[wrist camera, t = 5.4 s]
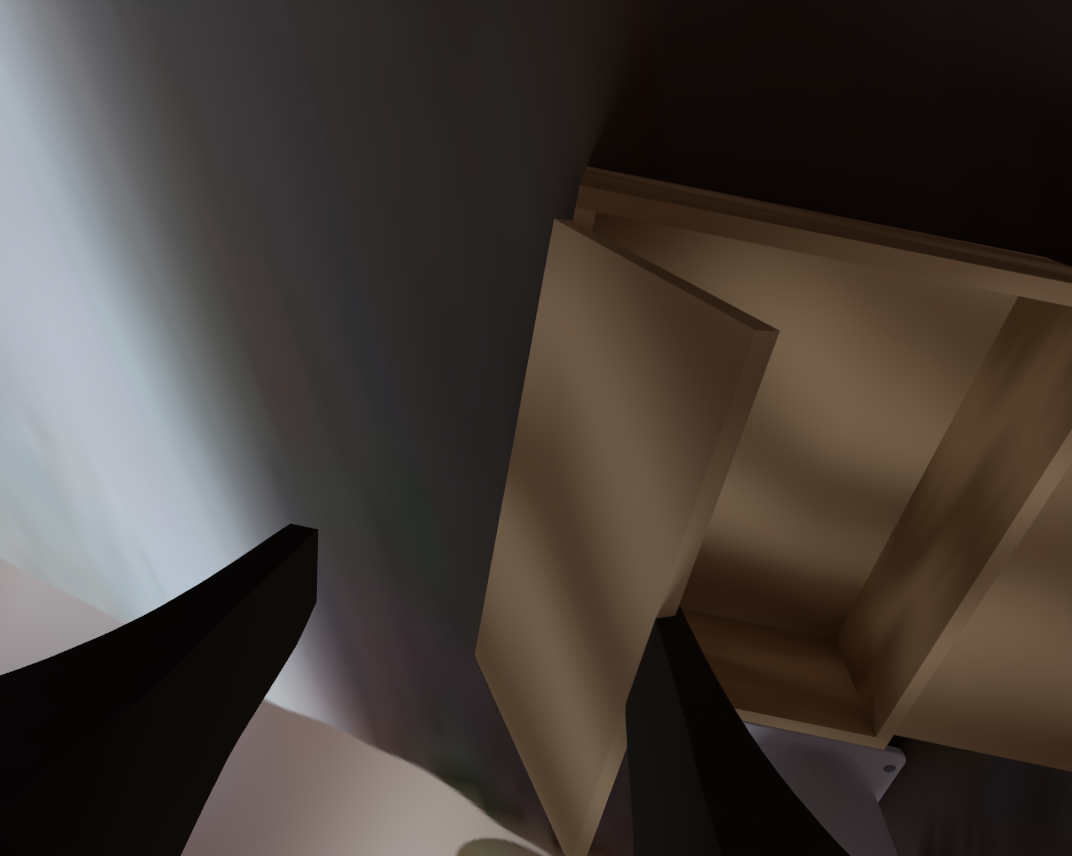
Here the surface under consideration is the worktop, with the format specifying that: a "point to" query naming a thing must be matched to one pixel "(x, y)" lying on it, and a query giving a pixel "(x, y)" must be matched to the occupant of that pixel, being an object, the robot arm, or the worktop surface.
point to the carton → (881, 474)
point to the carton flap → (606, 503)
